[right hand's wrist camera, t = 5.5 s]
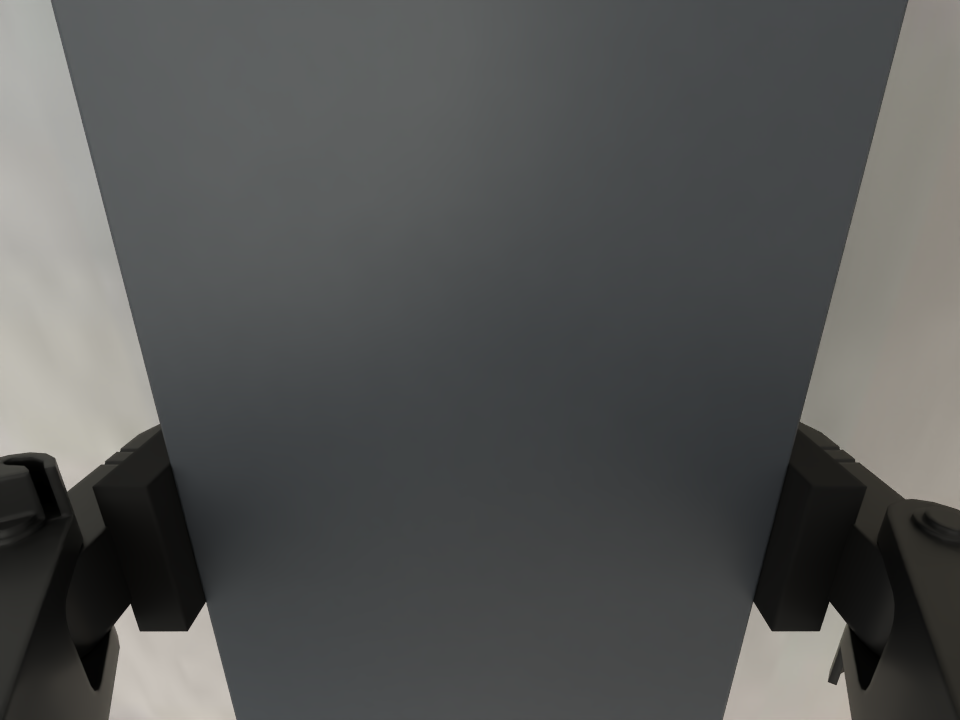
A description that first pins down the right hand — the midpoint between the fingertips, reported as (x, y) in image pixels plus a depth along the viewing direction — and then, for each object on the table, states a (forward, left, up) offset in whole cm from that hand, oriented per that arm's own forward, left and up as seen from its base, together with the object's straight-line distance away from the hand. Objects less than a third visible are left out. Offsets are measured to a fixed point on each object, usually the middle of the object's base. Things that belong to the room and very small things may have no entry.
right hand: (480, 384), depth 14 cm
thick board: (+14, -25, -1) cm, 29 cm away
